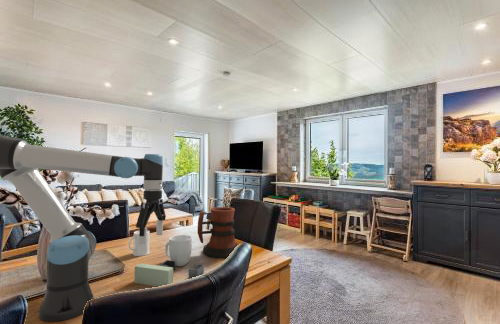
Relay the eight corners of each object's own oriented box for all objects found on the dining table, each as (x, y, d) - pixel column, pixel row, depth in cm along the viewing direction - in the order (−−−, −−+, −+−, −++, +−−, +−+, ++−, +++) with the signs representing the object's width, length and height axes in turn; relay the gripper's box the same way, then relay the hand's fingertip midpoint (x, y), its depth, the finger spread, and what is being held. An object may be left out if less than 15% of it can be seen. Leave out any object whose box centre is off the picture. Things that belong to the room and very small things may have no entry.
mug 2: (157, 264, 129) (158, 238, 129) (172, 257, 139) (173, 232, 139) (181, 269, 123) (182, 242, 123) (195, 262, 133) (196, 236, 133)
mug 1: (132, 259, 135) (132, 236, 135) (123, 255, 140) (124, 233, 141) (152, 253, 145) (153, 231, 145) (144, 249, 150) (144, 229, 150)
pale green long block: (168, 288, 105) (168, 270, 105) (134, 283, 109) (134, 266, 109) (172, 284, 108) (173, 267, 108) (139, 279, 112) (140, 263, 112)
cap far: (167, 274, 117) (167, 266, 117) (158, 273, 118) (159, 264, 118) (174, 269, 123) (174, 261, 123) (166, 268, 124) (166, 260, 124)
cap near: (197, 279, 113) (197, 270, 113) (188, 278, 114) (188, 268, 114) (203, 273, 119) (203, 264, 119) (195, 272, 120) (195, 263, 120)
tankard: (245, 256, 142) (246, 211, 142) (199, 261, 134) (200, 213, 134) (235, 244, 163) (236, 205, 163) (195, 247, 155) (196, 206, 155)
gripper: (145, 193, 99) (143, 248, 99) (173, 187, 124) (172, 232, 124) (127, 192, 100) (125, 247, 100) (159, 187, 125) (157, 231, 125)
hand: (151, 239), depth 112 cm, fingers open, 13 cm apart
